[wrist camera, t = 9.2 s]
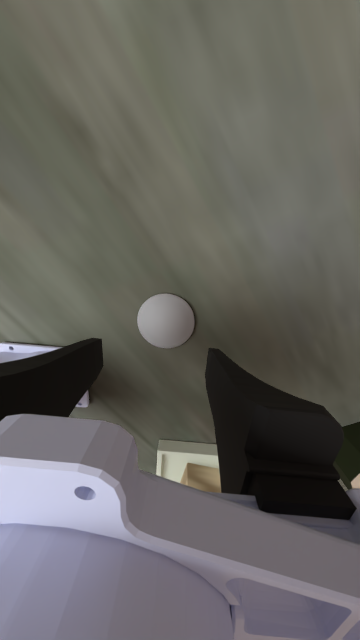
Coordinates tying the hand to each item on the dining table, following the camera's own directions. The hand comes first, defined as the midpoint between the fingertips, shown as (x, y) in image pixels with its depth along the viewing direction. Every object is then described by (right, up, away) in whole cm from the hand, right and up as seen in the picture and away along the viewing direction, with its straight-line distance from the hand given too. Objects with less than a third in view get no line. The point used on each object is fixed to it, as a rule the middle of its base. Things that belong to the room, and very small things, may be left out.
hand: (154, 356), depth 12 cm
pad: (0, +2, +7) cm, 7 cm away
